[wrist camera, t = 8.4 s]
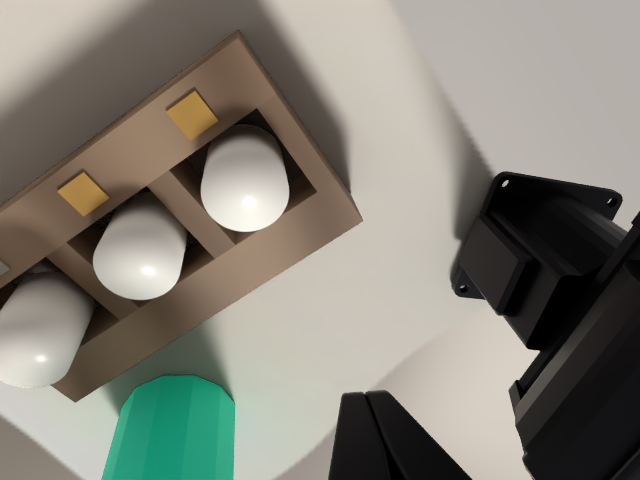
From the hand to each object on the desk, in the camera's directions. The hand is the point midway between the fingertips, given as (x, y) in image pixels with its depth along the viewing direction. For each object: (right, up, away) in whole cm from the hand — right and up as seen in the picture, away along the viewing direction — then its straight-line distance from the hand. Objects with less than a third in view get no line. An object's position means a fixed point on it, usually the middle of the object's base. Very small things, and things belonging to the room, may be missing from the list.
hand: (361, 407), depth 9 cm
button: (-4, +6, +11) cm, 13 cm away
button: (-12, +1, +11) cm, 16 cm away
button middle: (-8, +4, +11) cm, 14 cm away
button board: (-8, +4, +12) cm, 15 cm away
